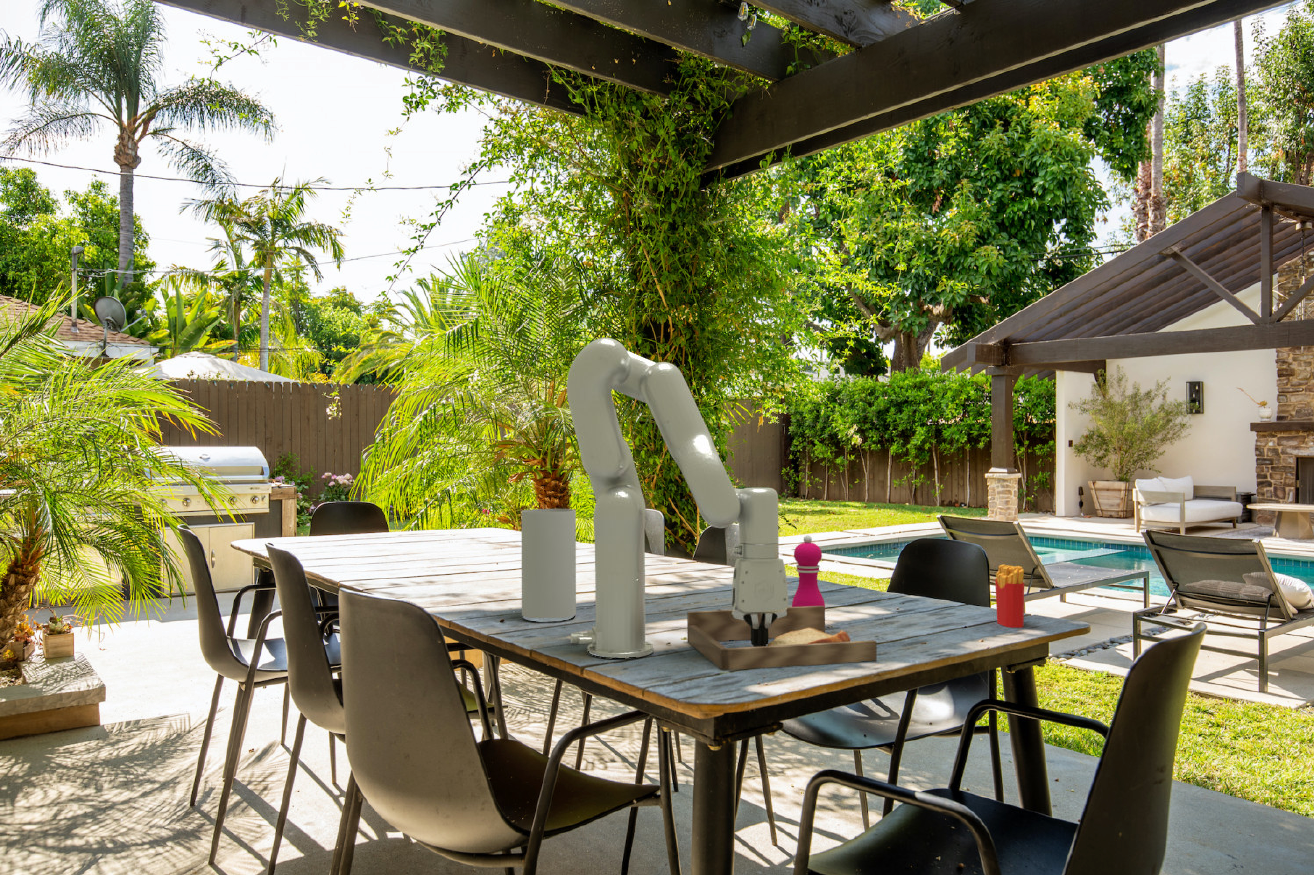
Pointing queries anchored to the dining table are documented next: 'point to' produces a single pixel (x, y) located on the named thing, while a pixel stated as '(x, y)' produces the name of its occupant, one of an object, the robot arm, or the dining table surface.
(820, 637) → the bread slice
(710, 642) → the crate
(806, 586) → the pepper mill
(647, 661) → the dining table surface
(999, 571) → the french fries
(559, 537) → the cylinder vase
